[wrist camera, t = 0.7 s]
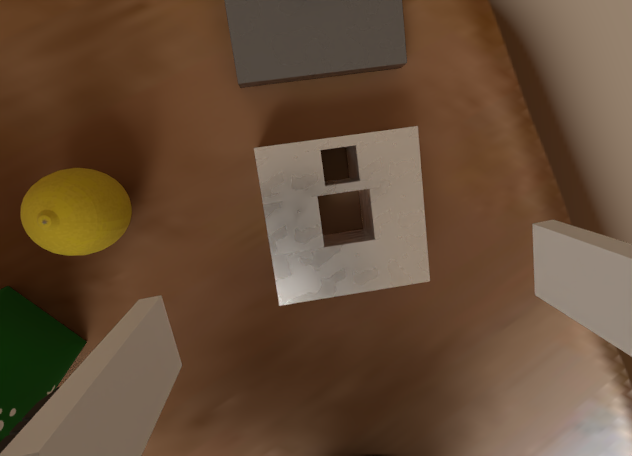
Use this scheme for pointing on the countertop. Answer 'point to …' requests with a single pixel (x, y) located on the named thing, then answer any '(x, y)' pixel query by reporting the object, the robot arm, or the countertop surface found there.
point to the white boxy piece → (352, 246)
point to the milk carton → (30, 356)
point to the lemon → (76, 211)
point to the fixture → (314, 38)
